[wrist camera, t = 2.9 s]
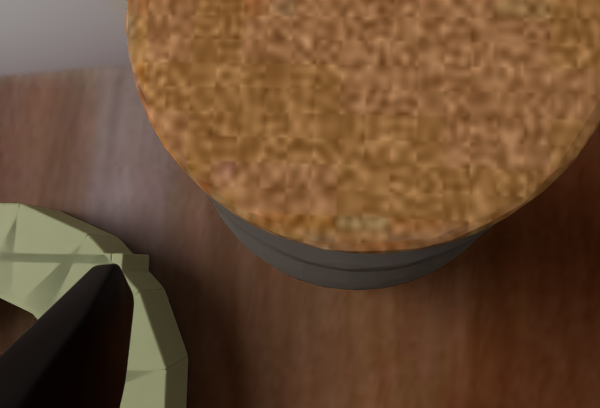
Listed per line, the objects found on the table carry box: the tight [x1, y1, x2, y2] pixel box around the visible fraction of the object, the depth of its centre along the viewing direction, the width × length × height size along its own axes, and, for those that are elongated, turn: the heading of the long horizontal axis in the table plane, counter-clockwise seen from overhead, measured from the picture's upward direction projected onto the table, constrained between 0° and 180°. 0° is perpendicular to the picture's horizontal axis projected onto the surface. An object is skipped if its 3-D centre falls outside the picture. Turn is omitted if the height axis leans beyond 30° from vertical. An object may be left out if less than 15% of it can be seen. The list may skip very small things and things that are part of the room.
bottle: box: [126, 0, 600, 290], centre depth 12 cm, size 6×6×15 cm
